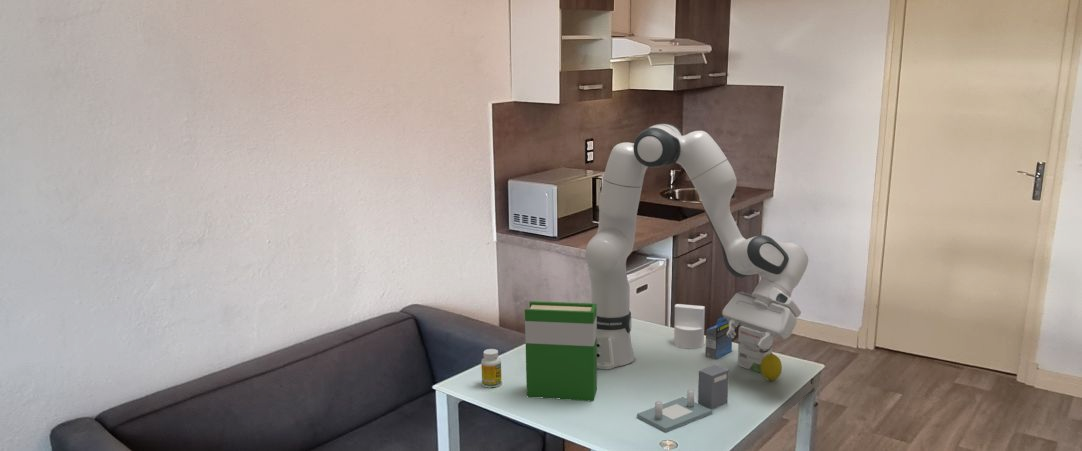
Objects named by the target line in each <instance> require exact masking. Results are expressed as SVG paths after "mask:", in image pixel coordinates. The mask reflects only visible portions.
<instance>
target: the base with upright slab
mask: <svg viewBox="0 0 1082 451" xmlns="http://www.w3.org/2000/svg"><path fill="white" fill-rule="evenodd" d="M705 307H706V306H703V305H696V304H695V305H694V304H693V305H692V304H682V303H676V304H674V330H673V331H674V332H673V333H674V334H673V335H674V337H673V340H674V341H673V344H674V346H675V347H678V348H680V349H685V350H698V349H700V348H701V349H702V347H704V345H705V316H706V315H705V314H706V313H705V312H706V308H705Z"/></svg>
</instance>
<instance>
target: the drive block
mask: <svg viewBox="0 0 1082 451" xmlns="http://www.w3.org/2000/svg"><path fill="white" fill-rule="evenodd" d="M697 389H698V391H697V403H698V404H700V405H702V406H704V407H707V408H709V409H711V410H712V411H713V410H714V409H717V408H720V407H721V406H723V405H727V404H728V399H729V398H728V395H729V370H728V369H726V368H724V367H722V366H719V365H716V364H713V365H710V366H708V367H705V368H702V369H699V370H698V387H697Z"/></svg>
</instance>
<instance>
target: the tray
mask: <svg viewBox="0 0 1082 451" xmlns="http://www.w3.org/2000/svg"><path fill="white" fill-rule="evenodd" d="M712 414H713V409H712V410H711V409H709V408H707V407H704V406H702V405H700V404H698V402H695V390H694V389H687V391H686V397H684V396H681V397H679V398H676V399H674V400H671V401H670V400H669V401H667V402H665V403H663V402H662V401H660V400H658V401H655V402H654V407H651V408H649V409H647V410H643V411H641V412H638V413H637V414H636V418H637V419H639V420H640V421H643V422H645V423H647V424H649V425H650V426H652V427H655V428H656V429H658V430H660V431H662V432H664V433H668V432H671V431H672V430H675V429H678V428H681V427H683V426H685V425H687V424H690V423H693V422H695V421H698V420H700V419H703V418H706V417H708V416H710V415H712Z"/></svg>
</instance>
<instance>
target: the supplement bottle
mask: <svg viewBox="0 0 1082 451" xmlns="http://www.w3.org/2000/svg"><path fill="white" fill-rule="evenodd" d="M482 356H483V358H482V359H481V362H480V363H481V384H482V386H483V385H484V386H486V387H496V388H498V387H500V386H501V385H502V381H503V380H502V360H501V358H500V357H499V350H498V349H496V348H487V349H485V350H484V351H483V355H482ZM499 385H500V386H499ZM484 386H483V387H484ZM497 386H498V387H497ZM486 387H485V388H486Z"/></svg>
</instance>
